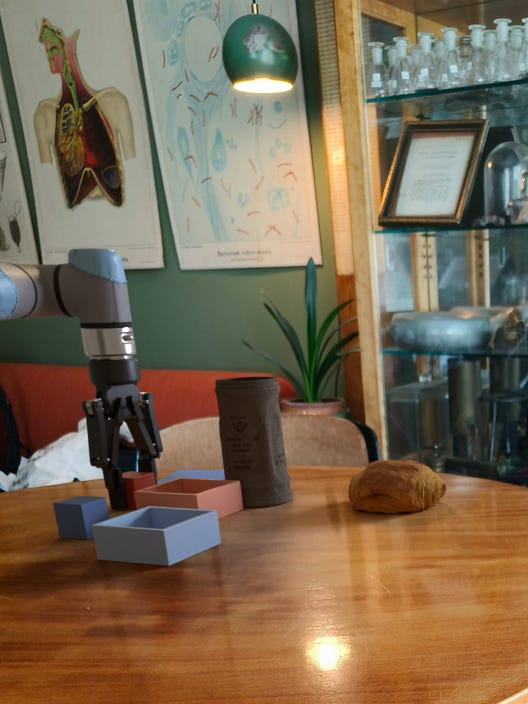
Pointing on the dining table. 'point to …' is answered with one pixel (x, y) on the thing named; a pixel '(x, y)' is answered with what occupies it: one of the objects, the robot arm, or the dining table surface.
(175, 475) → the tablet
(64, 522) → the blue block
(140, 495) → the red bin
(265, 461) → the brown tall cylinder
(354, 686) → the dining table surface
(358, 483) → the croissant
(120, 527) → the blue bin
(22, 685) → the dining table surface
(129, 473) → the red block
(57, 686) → the dining table surface
